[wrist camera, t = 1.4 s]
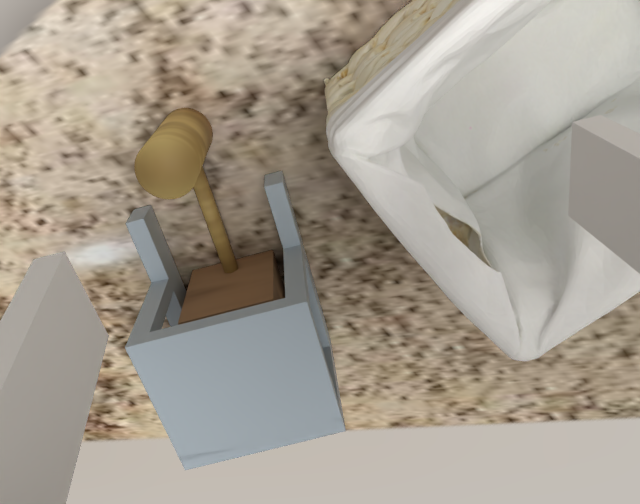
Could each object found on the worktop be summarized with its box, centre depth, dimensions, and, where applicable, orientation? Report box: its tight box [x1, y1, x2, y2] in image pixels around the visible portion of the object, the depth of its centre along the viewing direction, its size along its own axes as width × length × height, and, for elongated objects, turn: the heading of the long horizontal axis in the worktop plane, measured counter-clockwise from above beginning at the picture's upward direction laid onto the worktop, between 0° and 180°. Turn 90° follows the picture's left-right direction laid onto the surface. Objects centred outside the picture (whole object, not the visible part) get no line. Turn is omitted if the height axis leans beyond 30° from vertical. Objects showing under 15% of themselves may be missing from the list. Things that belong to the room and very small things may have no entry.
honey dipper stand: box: [135, 108, 285, 325], centre depth 35 cm, size 17×6×8 cm, turn 14°
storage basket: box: [324, 0, 640, 361], centre depth 29 cm, size 24×16×15 cm
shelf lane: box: [125, 171, 346, 470], centre depth 36 cm, size 14×10×10 cm
